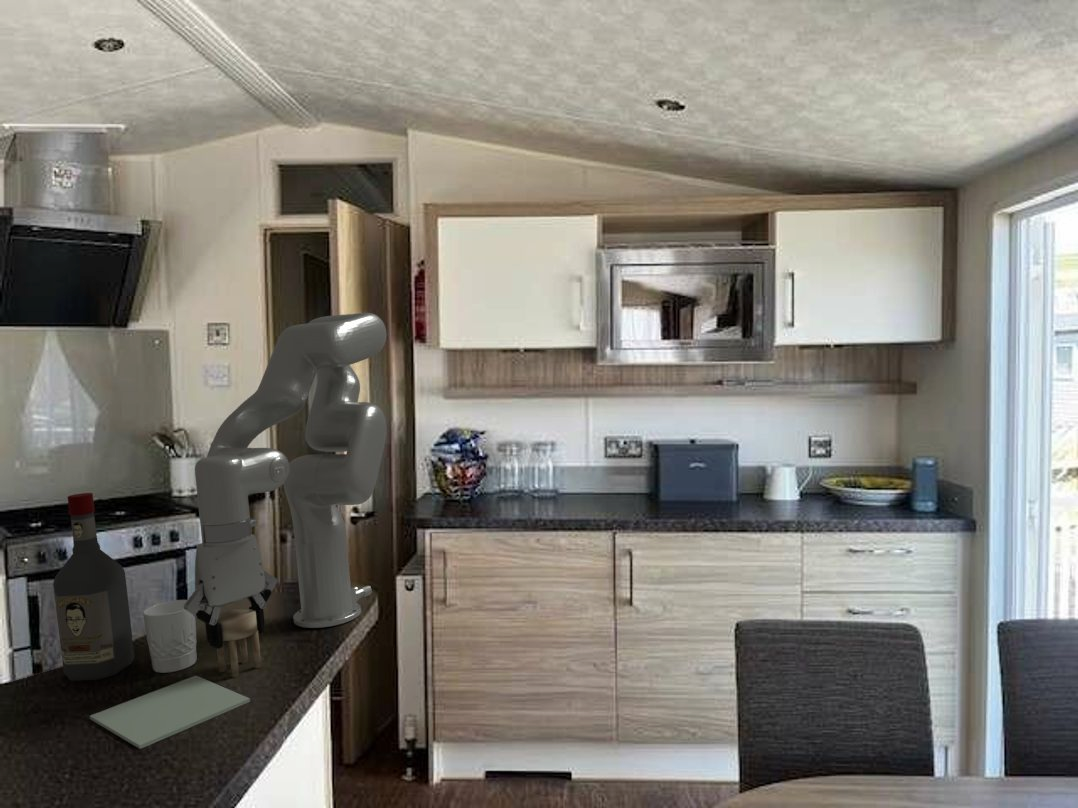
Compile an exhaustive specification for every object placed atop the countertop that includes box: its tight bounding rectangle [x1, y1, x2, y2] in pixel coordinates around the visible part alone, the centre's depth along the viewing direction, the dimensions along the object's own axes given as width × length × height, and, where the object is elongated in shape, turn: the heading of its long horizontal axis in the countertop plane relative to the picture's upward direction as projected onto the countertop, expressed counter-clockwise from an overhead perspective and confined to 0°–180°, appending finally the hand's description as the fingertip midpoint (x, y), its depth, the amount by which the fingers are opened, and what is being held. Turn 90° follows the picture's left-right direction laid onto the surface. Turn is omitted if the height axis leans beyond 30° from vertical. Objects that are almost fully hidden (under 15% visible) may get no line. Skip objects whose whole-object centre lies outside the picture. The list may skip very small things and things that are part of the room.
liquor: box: [52, 492, 135, 682], centre depth 133 cm, size 9×9×30 cm
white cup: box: [142, 599, 198, 674], centre depth 134 cm, size 8×8×10 cm
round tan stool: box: [216, 608, 262, 678], centre depth 130 cm, size 6×6×9 cm
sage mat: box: [89, 675, 251, 750], centre depth 116 cm, size 16×16×1 cm
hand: (237, 638), depth 130 cm, fingers open, 6 cm apart
